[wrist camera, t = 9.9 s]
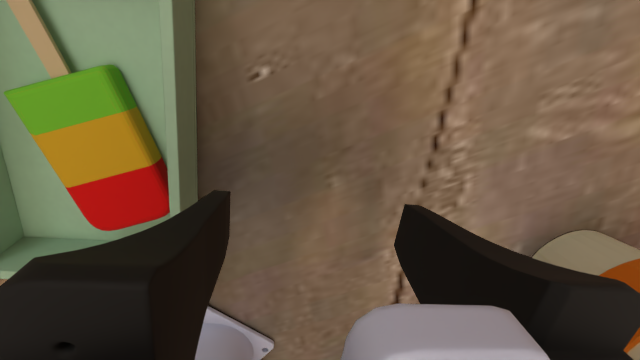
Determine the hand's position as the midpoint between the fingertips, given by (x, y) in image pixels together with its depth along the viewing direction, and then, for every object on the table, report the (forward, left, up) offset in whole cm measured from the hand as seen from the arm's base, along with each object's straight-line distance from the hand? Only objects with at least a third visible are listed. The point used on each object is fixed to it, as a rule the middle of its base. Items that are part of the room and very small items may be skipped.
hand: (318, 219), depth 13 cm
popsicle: (-6, +11, -9) cm, 16 cm away
